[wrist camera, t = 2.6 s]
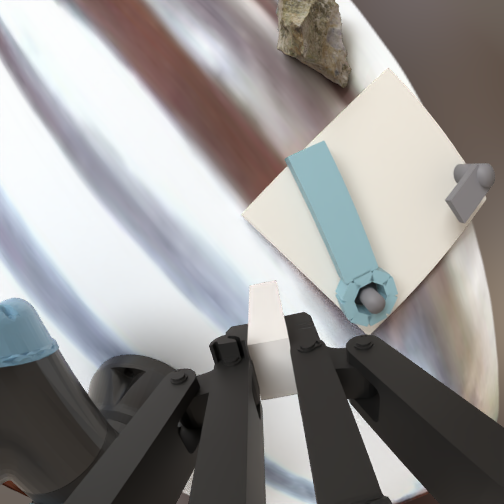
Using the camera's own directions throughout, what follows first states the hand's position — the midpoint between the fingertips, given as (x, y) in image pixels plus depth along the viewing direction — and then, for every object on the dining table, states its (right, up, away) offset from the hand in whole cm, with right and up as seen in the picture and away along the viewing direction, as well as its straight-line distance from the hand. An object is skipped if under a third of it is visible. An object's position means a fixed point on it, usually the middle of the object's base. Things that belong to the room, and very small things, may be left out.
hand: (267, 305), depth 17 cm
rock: (+5, +25, +8) cm, 27 cm away
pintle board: (+13, +8, +12) cm, 19 cm away
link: (+8, +4, +11) cm, 14 cm away
